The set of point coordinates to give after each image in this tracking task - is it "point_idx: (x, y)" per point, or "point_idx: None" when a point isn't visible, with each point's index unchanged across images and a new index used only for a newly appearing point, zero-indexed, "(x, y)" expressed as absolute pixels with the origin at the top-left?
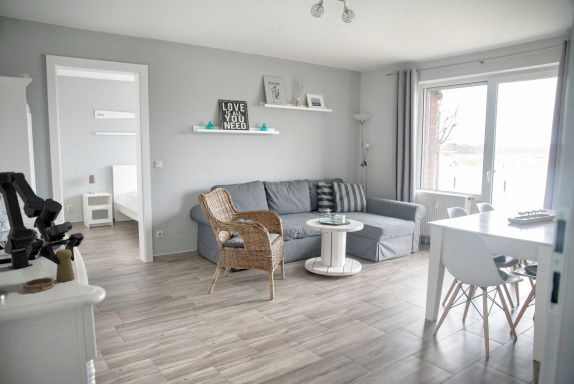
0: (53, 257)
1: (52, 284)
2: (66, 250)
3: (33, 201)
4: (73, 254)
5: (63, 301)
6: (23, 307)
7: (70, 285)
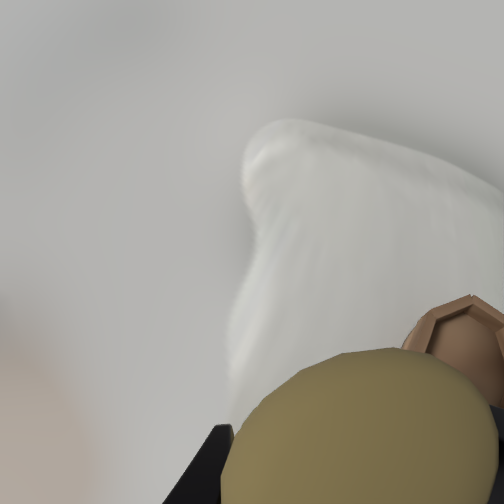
0: (498, 417)
1: (416, 329)
2: (369, 417)
3: None
4: (190, 474)
5: (384, 144)
6: (482, 189)
7: (323, 293)
